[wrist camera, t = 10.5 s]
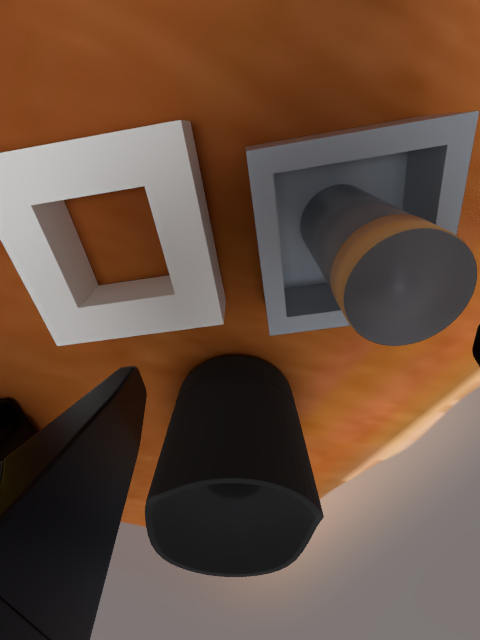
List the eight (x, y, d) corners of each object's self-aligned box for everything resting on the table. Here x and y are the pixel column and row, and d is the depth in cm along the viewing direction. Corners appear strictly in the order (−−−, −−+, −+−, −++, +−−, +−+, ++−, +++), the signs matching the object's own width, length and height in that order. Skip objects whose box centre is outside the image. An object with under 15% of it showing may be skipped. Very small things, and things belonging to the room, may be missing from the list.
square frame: (78, 320, 22) (57, 346, 19) (2, 156, 17) (-42, 160, 14) (225, 300, 21) (223, 324, 18) (190, 121, 16) (180, 119, 13)
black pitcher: (149, 388, 25) (101, 525, 16) (248, 324, 22) (252, 449, 13) (226, 452, 29) (220, 591, 20) (319, 405, 26) (358, 543, 17)
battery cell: (301, 263, 19) (343, 353, 11) (297, 189, 17) (344, 240, 9) (372, 252, 19) (464, 338, 11) (376, 177, 17) (493, 217, 9)
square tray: (265, 301, 21) (269, 335, 18) (244, 146, 17) (246, 151, 13) (408, 282, 20) (442, 313, 17) (427, 114, 16) (479, 110, 12)
